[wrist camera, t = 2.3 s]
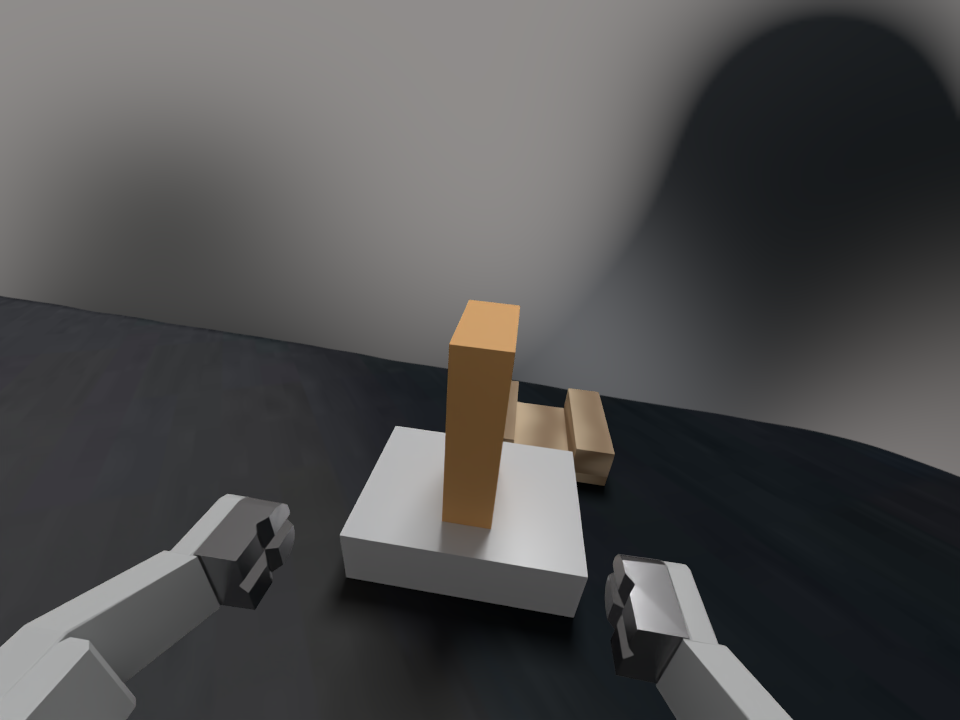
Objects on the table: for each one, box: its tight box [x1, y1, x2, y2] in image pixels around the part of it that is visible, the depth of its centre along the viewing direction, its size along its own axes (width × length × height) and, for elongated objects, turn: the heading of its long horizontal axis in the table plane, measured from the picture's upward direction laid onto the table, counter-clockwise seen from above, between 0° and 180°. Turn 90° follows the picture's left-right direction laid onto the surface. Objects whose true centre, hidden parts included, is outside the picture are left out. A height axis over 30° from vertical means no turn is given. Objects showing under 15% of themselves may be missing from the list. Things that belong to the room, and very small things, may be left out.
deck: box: [340, 426, 588, 618], centre depth 27 cm, size 14×10×4 cm
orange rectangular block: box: [442, 300, 520, 529], centre depth 23 cm, size 3×6×12 cm, turn 173°
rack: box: [503, 381, 615, 486], centre depth 35 cm, size 11×9×4 cm
